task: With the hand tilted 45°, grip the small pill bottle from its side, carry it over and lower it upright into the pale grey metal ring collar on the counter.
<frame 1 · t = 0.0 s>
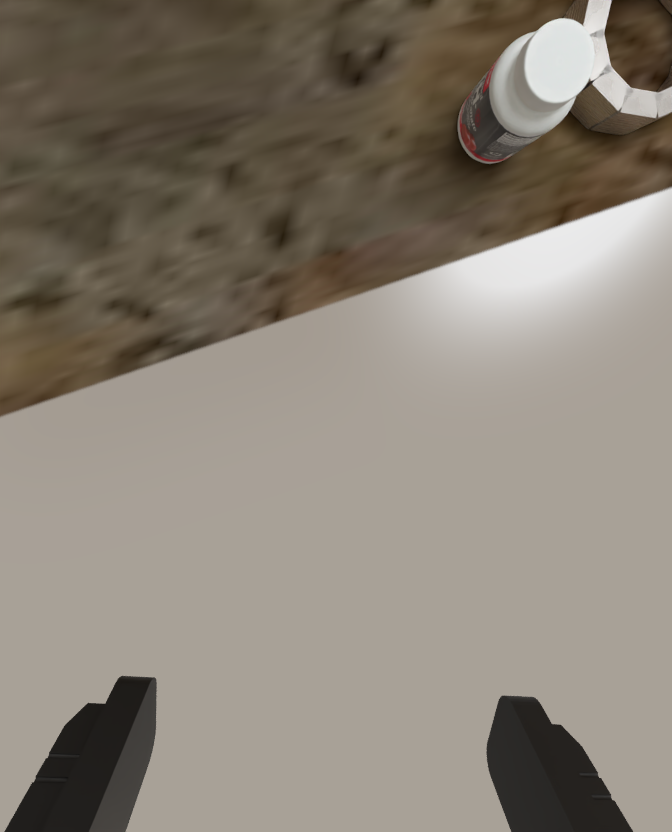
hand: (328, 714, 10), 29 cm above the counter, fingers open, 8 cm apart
pill bottle: (489, 127, 34), on the counter
ring collar: (625, 52, 33), on the counter
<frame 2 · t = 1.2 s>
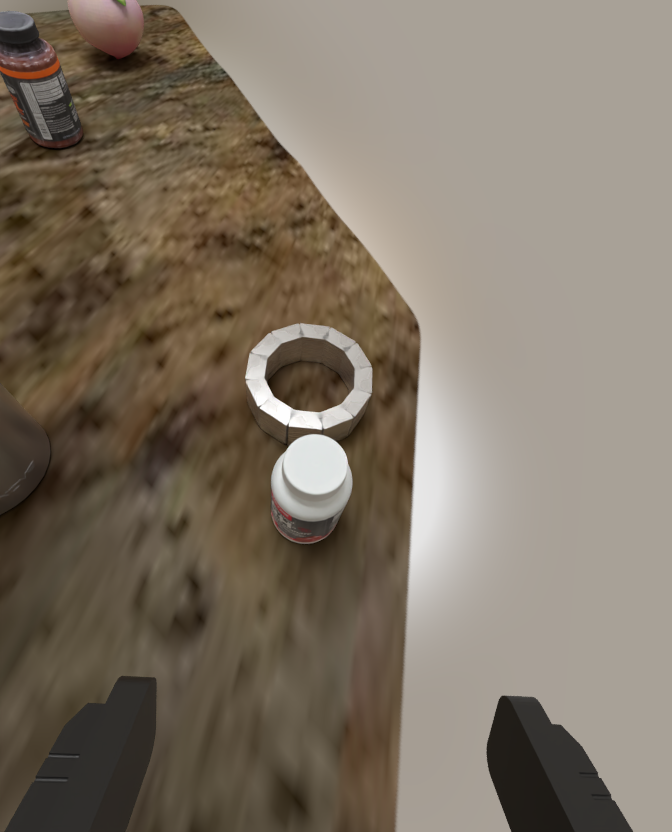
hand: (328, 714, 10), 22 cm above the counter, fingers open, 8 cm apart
decorative fruit: (117, 61, 64), on the counter
supplement bottle: (58, 138, 54), on the counter
pill bottle: (305, 512, 35), on the counter
ring collar: (307, 394, 40), on the counter
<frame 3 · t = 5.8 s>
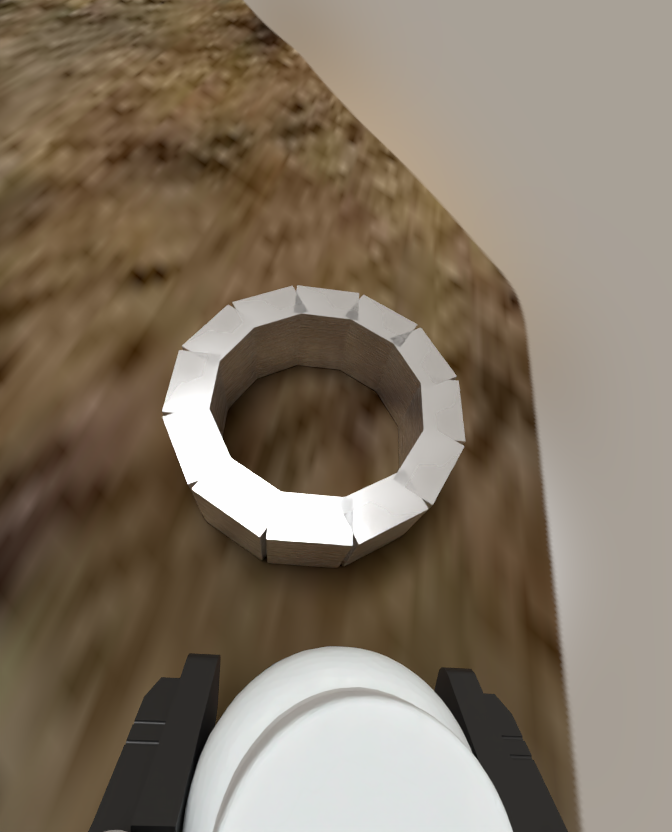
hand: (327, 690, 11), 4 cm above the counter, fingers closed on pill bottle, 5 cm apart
pill bottle: (310, 752, 14), on the counter, touching gripper
ring collar: (312, 438, 19), on the counter
when the fingers open (6 cm above the counter, at t = 11.4 s): pill bottle drops 1 cm, resting in ring collar.
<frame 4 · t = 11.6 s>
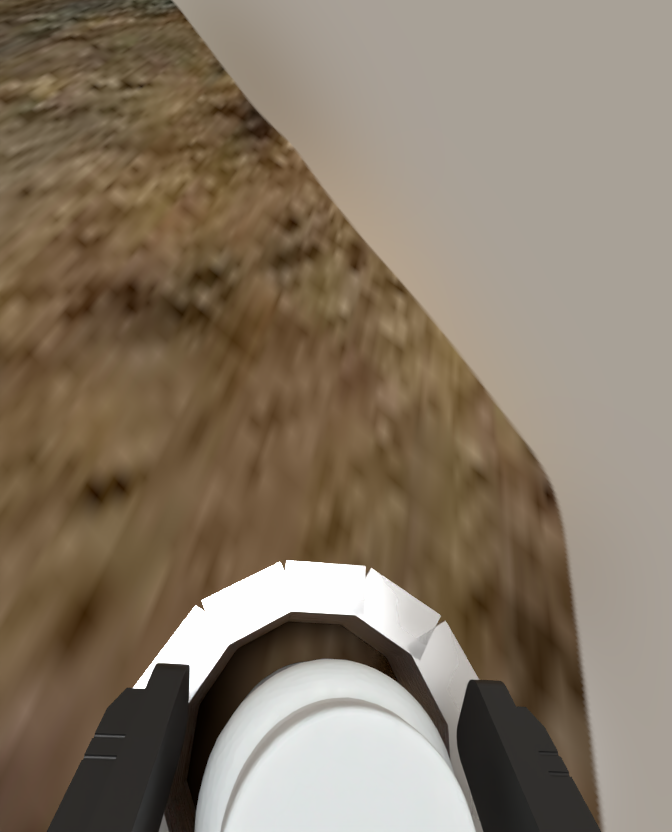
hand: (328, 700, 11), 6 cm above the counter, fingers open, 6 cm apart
pill bottle: (307, 752, 15), resting in ring collar
ring collar: (306, 745, 15), on the counter
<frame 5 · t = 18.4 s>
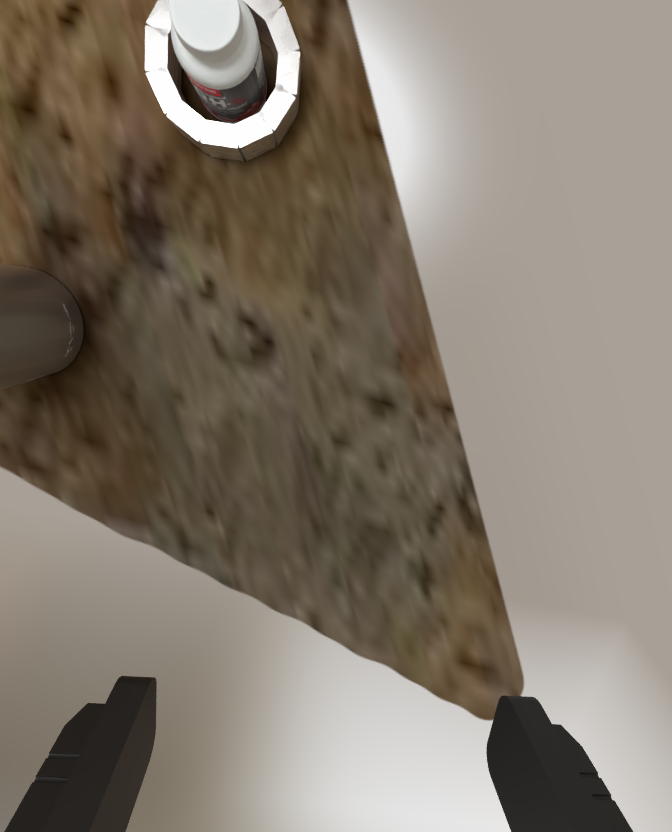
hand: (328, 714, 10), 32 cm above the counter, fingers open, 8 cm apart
pill bottle: (233, 87, 34), resting in ring collar
ring collar: (231, 83, 34), on the counter
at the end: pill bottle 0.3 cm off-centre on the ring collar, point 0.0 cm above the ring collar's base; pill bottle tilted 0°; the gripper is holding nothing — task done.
